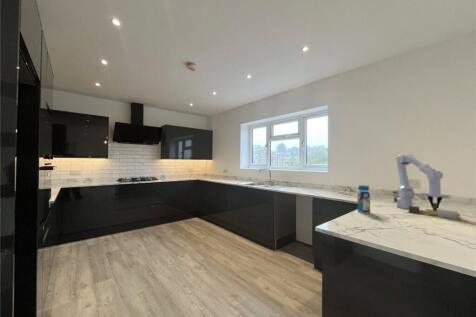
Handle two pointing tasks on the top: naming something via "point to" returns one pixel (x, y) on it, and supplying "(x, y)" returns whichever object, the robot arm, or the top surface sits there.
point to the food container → (395, 195)
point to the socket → (413, 209)
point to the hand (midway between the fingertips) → (435, 207)
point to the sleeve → (447, 214)
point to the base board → (434, 215)
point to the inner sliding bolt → (437, 210)
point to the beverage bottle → (363, 199)
